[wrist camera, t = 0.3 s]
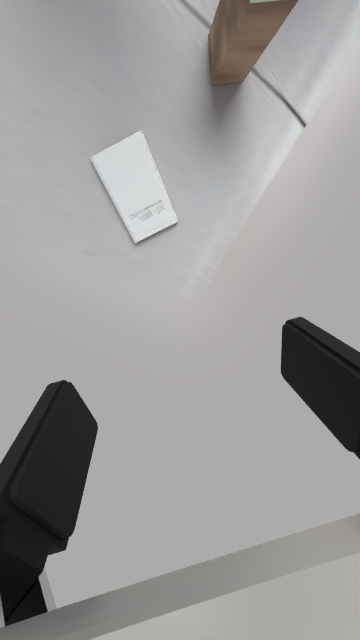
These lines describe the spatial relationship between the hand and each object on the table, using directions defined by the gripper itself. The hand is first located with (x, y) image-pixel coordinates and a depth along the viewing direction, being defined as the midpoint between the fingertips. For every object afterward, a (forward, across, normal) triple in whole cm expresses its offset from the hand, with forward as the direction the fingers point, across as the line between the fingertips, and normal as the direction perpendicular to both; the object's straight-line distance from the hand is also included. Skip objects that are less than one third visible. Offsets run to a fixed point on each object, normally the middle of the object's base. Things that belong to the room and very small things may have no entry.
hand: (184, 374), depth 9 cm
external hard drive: (+32, 0, -10) cm, 33 cm away
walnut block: (+31, -16, -22) cm, 41 cm away
